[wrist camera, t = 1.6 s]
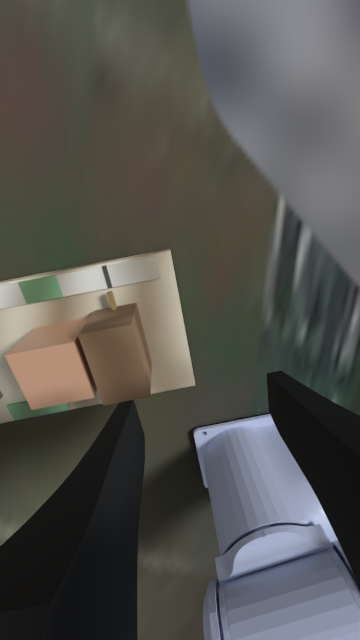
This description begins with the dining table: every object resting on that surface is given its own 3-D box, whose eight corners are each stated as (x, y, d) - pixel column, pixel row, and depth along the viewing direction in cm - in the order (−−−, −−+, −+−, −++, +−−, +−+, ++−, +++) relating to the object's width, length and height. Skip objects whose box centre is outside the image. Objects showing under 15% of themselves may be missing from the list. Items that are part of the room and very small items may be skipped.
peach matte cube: (90, 317, 19) (73, 342, 15) (106, 364, 20) (94, 397, 16) (35, 327, 19) (4, 355, 15) (55, 374, 20) (31, 410, 16)
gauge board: (169, 248, 18) (170, 251, 17) (193, 378, 22) (195, 387, 21) (-70, 294, 18) (-85, 300, 17) (-1, 416, 22) (-10, 427, 21)
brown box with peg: (132, 286, 18) (125, 304, 14) (151, 363, 20) (150, 396, 16) (89, 294, 18) (70, 315, 14) (113, 370, 20) (103, 405, 16)
